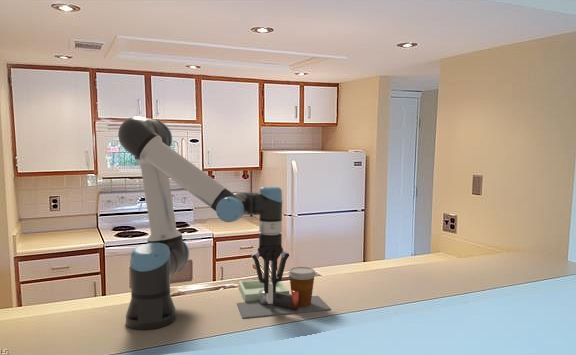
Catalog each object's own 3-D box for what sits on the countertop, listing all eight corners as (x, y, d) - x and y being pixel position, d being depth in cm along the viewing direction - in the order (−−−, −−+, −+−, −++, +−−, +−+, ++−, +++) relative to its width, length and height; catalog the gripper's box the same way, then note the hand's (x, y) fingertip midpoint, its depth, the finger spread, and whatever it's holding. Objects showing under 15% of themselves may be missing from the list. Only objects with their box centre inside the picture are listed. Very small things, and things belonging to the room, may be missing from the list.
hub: (260, 307, 144) (260, 294, 144) (257, 302, 149) (257, 289, 149) (313, 302, 149) (313, 289, 149) (309, 297, 154) (309, 285, 153)
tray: (245, 303, 148) (245, 294, 148) (238, 288, 164) (238, 281, 163) (289, 299, 152) (289, 290, 152) (278, 285, 168) (278, 278, 167)
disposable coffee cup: (291, 310, 140) (292, 274, 139) (285, 300, 149) (285, 267, 149) (319, 307, 142) (319, 272, 142) (310, 298, 152) (311, 265, 151)
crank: (271, 304, 144) (271, 287, 144) (275, 302, 146) (275, 285, 146) (296, 310, 139) (296, 292, 139) (300, 308, 141) (300, 290, 141)
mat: (242, 318, 134) (242, 317, 134) (236, 304, 147) (236, 302, 147) (331, 309, 142) (331, 308, 142) (318, 296, 155) (318, 295, 155)
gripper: (253, 235, 135) (252, 307, 137) (292, 234, 139) (291, 304, 140) (249, 231, 142) (248, 299, 144) (286, 230, 146) (285, 297, 147)
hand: (269, 302), depth 142 cm, fingers closed
